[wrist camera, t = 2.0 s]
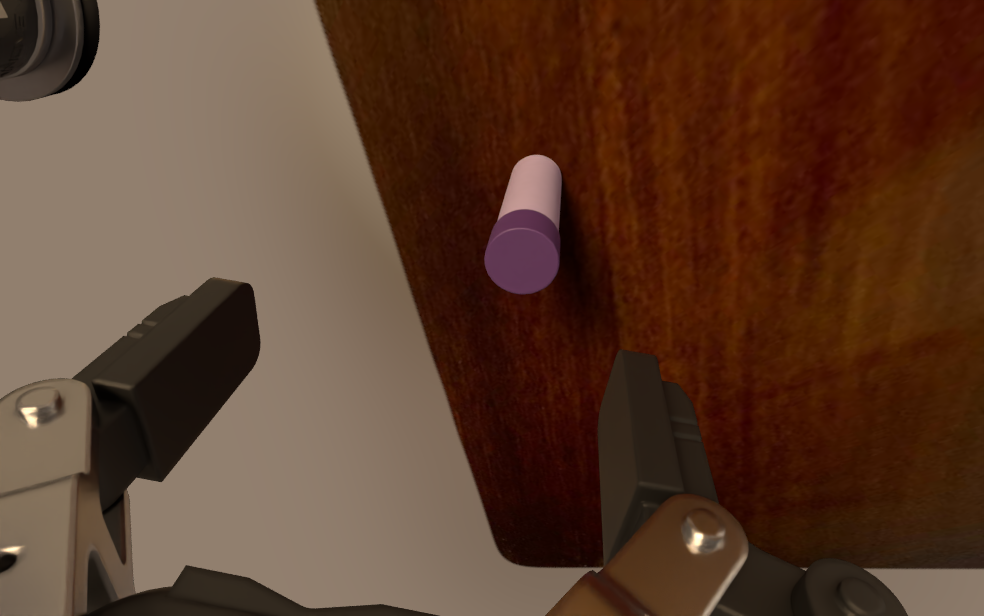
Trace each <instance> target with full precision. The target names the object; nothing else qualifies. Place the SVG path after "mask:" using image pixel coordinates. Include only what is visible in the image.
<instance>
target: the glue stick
mask: <svg viewBox="0 0 984 616" xmlns="http://www.w3.org/2000/svg"><path fill="white" fill-rule="evenodd" d="M561 185H562V176H561V172H560V169H559V167H558V166H557V165H556V163H555V162H554V161H553V160H551V159H550V158H548V157H545V156H542V155H531V156H527V157H525V158H523V159H522V160H520V161H519V162H518V163H517V164H516V165H515V167H514V169H513V171H512V174H511V177H510V181H509V184H508V187H507V191H506V194H505V197H504V201H503V204H502V207H501V211H500V214H499V217H498V221H497V223H496V224H495V225H494V227H493V230H492V233H491V236H490V239H489V242H488V245H487V249H486V252H485V266H486V270H487V272H488V274H489V276H490V277H491V279H492V280H493V281H494V282H495V283H496V284H497V285H498V286H499V287H501V288H502V289H504V290H506V291H509V292H512V293H516V294H531V293H535V292H538V291H540V290H542V289H544V288H545V287H547V286H548V285H549V284H550V283H551V282H552V281H553V280H554V278H555V276H556V274H557V272H558V269H559V261H560V235H559V219H560V202H561Z"/></svg>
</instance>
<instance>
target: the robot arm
mask: <svg viewBox="0 0 984 616" xmlns="http://www.w3.org/2000/svg"><path fill="white" fill-rule="evenodd" d="M51 37H52V12H51V5H50V0H0V80H3V79H8V78H13V77H18V76H22V75H24V74H27V73H29V72H30V71H32V70H33V69H35V68H36V67H37V66H38V65H39V64H40V63H41V62H42V60H43V59H44V57H45V55H46V53H47V51H48V49H49V46H50V42H51ZM259 351H260V334H259V327H258V320H257V312H256V305H255V297H254V291H253V288H252V287H251V285H250V284H248V283H243V282H238V281H232V280H226V279H220V278H215V277H214V278H210V279H209V280H207V281H206V282H205V283H204V284H203V285H201V286H200V287H199V288H198V289H197V290H195V291H194V292H193V293H192V294H191V295H190V296H185V295H184V296H182V297H180V298H178V299H175V300H173V301H170V302H168V303H166V304H164V305H162V306H159V307H158V308H157V309H156V310H155V311H153V312H152V313H151V314H150V315H149V316H147V317H146V318H145V319H144V320H142V324H138V325H137V326H135V327H134V328H133V329H132V330H130V331H129V332H128V333H127V336H123V337H122V338H121V339H119V340H118V341H117V342H116V343H114V344H113V345H112V346H111V347H110V348H108V349H107V350H106V351H105V352H103V353H102V354H101V355H100V356H99V357H97V358H96V359H95V360H94V361H93V362H91V363H90V364H89V365H88V366H87V367H85V368H84V369H83V370H82V371H81V372H79V373H78V374H77V375H76V376H74V377H73V378H72V379H65V378H58V379H49V380H43V381H39V382H34V383H32V384H28V385H26V386H23V387H21V388H18V389H16V390H14V391H12V392H11V393H9V394H7V395H6V396H4V397H3V398H1V399H0V616H438V615H433V614H428V613H423V612H418V611H413V610H408V609H403V608H398V607H392V606H388V605H383V604H379V605H363V606H348V607H332V608H318V609H317V608H316V609H311V608H306V607H303V606H301V605H299V604H297V603H295V602H293V601H292V600H290V599H288V598H286V597H284V596H282V595H280V594H278V593H277V592H274V591H273V590H271V589H269V588H267V587H265V586H263V585H262V584H260V583H258V582H256V581H254V580H252V579H250V578H247V577H242V576H237V575H232V574H227V573H222V572H217V571H212V570H207V569H202V568H197V567H192V566H187V565H186V566H185V568H184V570H183V571H182V572H181V574H180V576H179V577H178V579H177V580H176V582H175V583H174V585H173V586H172V587H163V588H158V589H152V590H147V591H144V592H140V593H137V594H136V593H135V587H134V582H133V581H134V580H133V564H132V542H131V521H130V499H129V494H128V492H127V488H128V486H129V485H130V484H131V483H132V482H133V481H134V480H135V478H136V477H137V478H142V479H147V480H153V481H158V482H162V481H163V480H164V479H165V477H166V476H167V475H168V474H169V472H170V471H171V470H172V469H173V467H174V466H175V465H176V464H177V462H178V461H179V460H180V459H181V457H182V456H183V455H184V453H185V452H186V451H187V450H188V449H189V447H190V446H191V445H192V444H193V442H194V441H195V440H196V439H197V437H198V436H199V435H200V434H201V432H202V431H203V430H204V429H205V427H206V426H207V425H208V424H209V422H210V421H211V420H212V418H213V417H214V416H215V415H216V414H217V412H218V411H219V410H220V409H221V407H222V406H223V405H224V404H225V402H226V401H227V400H228V399H229V397H230V396H231V395H232V394H233V392H234V391H235V390H236V388H237V387H238V386H239V385H240V384H241V382H242V381H243V380H244V379H245V377H246V376H247V375H248V373H249V372H250V371H251V370H252V369H253V367H254V365H255V364H256V361H257V359H258V356H259ZM598 446H599V468H600V490H601V511H602V533H603V554H604V568H603V569H602V570H601V571H600V572H598V573H596V572H595V571H593V570H592V571H589V572H588V573H586V574H585V575H584V576H583V577H582V578H580V580H578V581H577V583H576V584H575V585H574V586H573V587H572V588H571V589H570V590H569V591H568V592H567V593H566V594H565V595H564V596H563V597H562V598H561V600H560V601H559V602H558V603H557V604H556V605H555V606H554V607H553V608H552V609H551V610H550V611H549V612H548V613H547V614H546V615H545V616H908V615H907V613H906V611H905V609H904V608H903V606H902V604H901V603H900V602H899V600H898V599H897V597H896V596H895V595H894V594H893V593H892V592H891V590H890V589H888V588H887V587H886V586H885V585H884V584H883V583H882V582H881V581H880V580H879V579H877V578H876V577H875V576H873V575H872V574H870V573H869V572H867V571H866V570H864V569H862V568H860V567H859V566H857V565H854V564H852V563H850V562H847V561H843V560H839V559H833V558H825V559H820V560H818V561H815V562H814V563H813V564H811V565H810V566H809V568H808V569H807V571H805V570H803V569H800V568H798V567H796V566H794V565H792V564H790V563H788V562H785V561H783V560H781V559H779V558H777V557H775V556H773V555H770V554H768V553H766V552H764V551H762V550H760V549H759V548H757V547H755V546H754V545H752V544H751V543H749V542H748V540H747V537H746V534H745V532H744V530H743V528H742V527H741V525H740V524H739V522H738V521H737V520H736V519H735V517H734V516H733V515H732V514H731V513H730V512H728V511H727V510H726V509H725V508H723V507H722V506H721V505H719V502H718V498H717V494H716V491H715V487H714V483H713V479H712V476H711V472H710V468H709V464H708V460H707V457H706V453H705V449H704V445H703V442H701V434H700V430H699V426H697V419H696V415H695V411H694V407H693V404H692V402H691V400H690V399H689V398H688V396H687V395H686V394H685V393H684V391H683V390H682V389H681V387H680V386H679V385H678V384H677V383H671V382H665V381H662V380H661V375H660V370H659V365H658V360H657V357H656V356H655V355H650V354H644V353H638V352H632V351H627V350H621V349H620V350H619V351H618V353H617V356H616V358H615V362H614V365H613V368H612V371H611V375H610V378H609V381H608V384H607V388H606V391H605V394H604V397H603V401H602V404H601V408H600V413H599V421H598Z"/></svg>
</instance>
